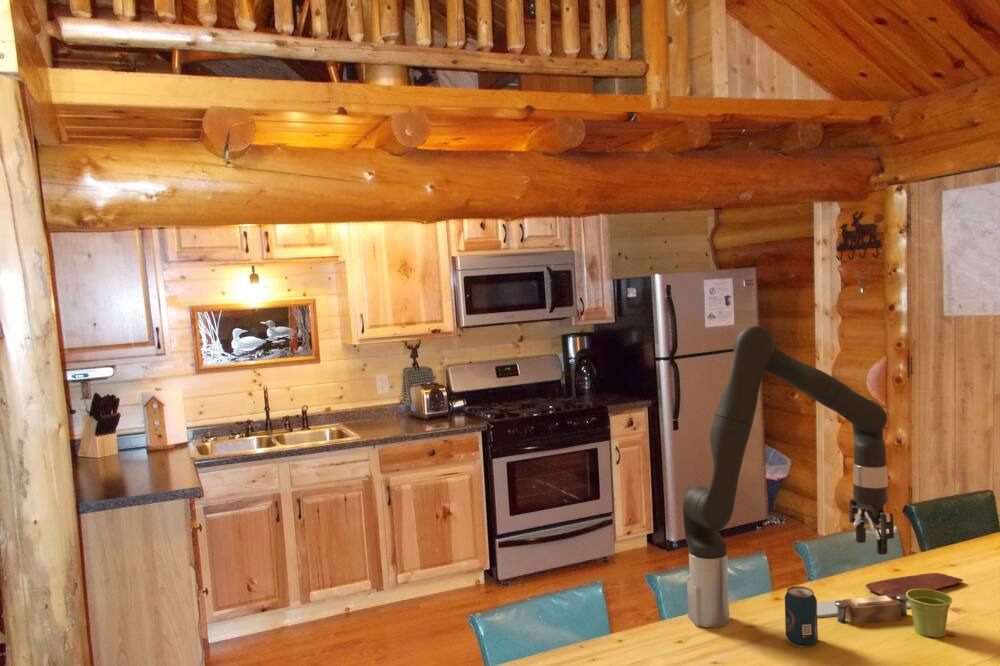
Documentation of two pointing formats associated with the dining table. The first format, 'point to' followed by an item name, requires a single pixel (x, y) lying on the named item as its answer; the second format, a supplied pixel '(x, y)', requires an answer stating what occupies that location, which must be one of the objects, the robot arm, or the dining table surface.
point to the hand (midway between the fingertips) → (871, 548)
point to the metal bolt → (903, 603)
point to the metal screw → (841, 610)
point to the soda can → (801, 616)
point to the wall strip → (833, 608)
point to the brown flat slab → (912, 583)
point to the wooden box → (873, 610)
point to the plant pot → (929, 611)
